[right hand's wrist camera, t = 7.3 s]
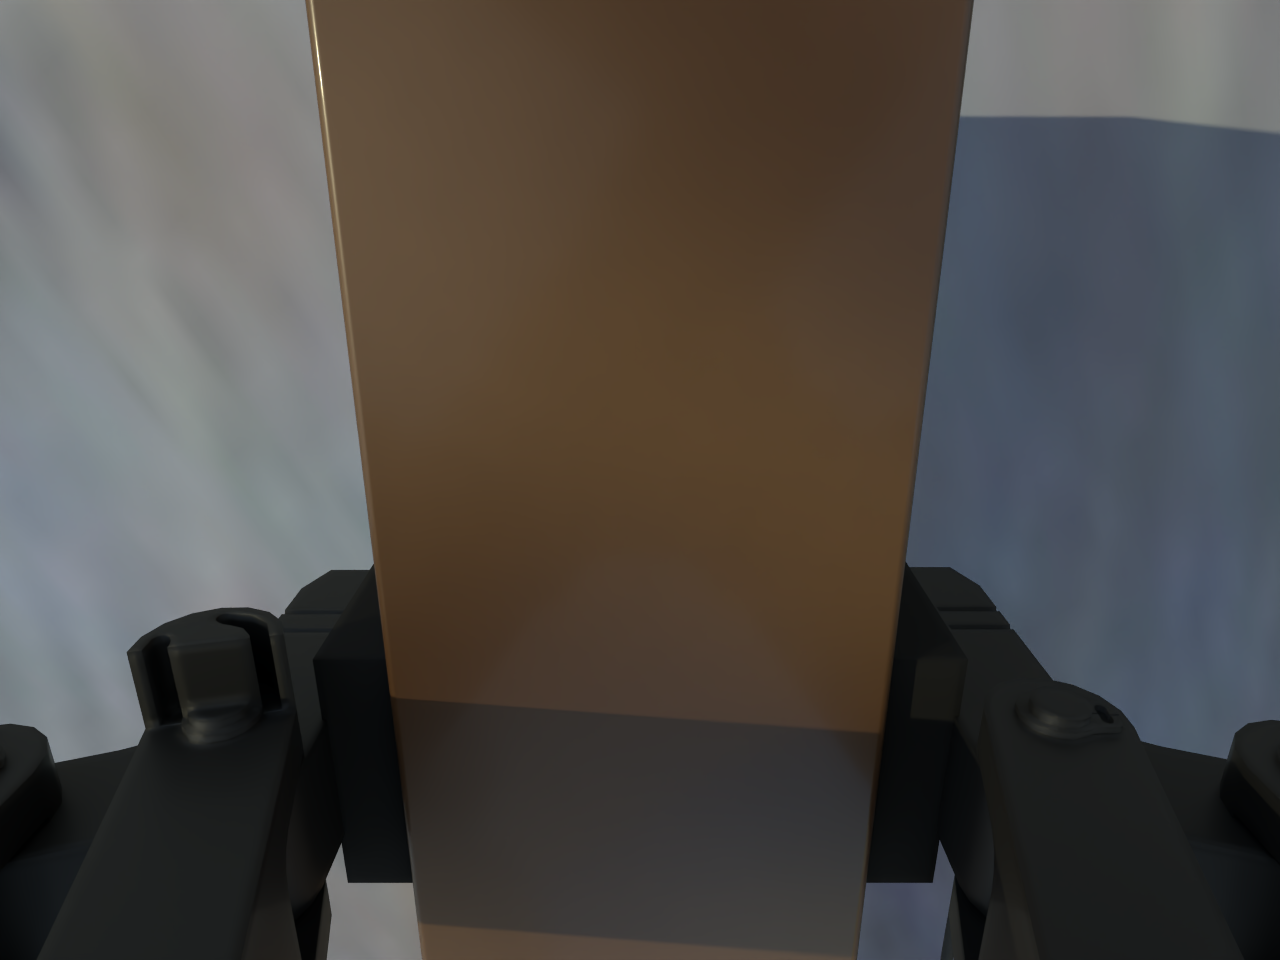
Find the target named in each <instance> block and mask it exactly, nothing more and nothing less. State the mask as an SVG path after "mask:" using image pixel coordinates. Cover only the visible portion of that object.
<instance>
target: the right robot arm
mask: <svg viewBox="0 0 1280 960" xmlns="http://www.w3.org/2000/svg"><path fill="white" fill-rule="evenodd" d="M127 656H128V660H129V664H130V668H131V672H132V676H133V680H134V684H135V688H136V692H137V696H138V700H139V704H140V708H141V712H142V716H143V720H144V724H145V728H146V729H145V731H144V733H143V736H142V738H141V740H140V742H139V744H138V746H134V747H130V748H127V749H123V750H119V751H114V752H109V753H103V754H98V755H93V756H88V757H83V758H78V759H73V760H68V761H63V762H58V763H54V759H53V756H52V753H51V749H50V746H49V743H48V739H47V737H46V736H45V735H43V734H42V733H41V732H40V731H38V730H37V729H36V728H34V727H29V726H22V725H16V724H4V725H0V960H326V959H327V951H328V942H329V933H330V924H331V916H332V914H331V908H330V901H329V895H328V889H327V883H326V877H327V875H328V873H329V870H330V868H331V866H332V863H333V861H334V859H335V856H336V854H337V852H338V849H339V847H340V845H341V843H342V848H343V854H344V861H345V867H346V873H347V879H348V883H413V880H412V872H411V864H410V855H409V847H408V839H407V831H406V823H405V814H404V806H403V798H402V790H401V781H400V773H399V765H398V757H397V749H396V740H395V732H394V724H393V716H392V708H391V699H390V691H389V683H388V675H387V667H386V658H385V650H384V642H383V634H382V626H381V617H380V609H379V601H378V593H377V585H376V576H375V568H374V564H373V566H372V567H371V569H370V570H331V571H329V572H327V573H326V574H324V575H323V576H321V577H319V578H318V579H316V580H315V581H313V582H311V583H310V584H308V585H306V586H305V587H303V588H302V589H301V590H300V591H299V593H298V594H297V595H296V597H295V598H294V599H293V600H292V602H291V603H290V604H289V606H288V607H287V608H286V610H285V614H282V615H281V616H280V617H279V619H278V618H277V617H275V616H274V615H273V614H271V613H270V612H267V611H262V610H258V609H253V608H248V607H247V608H219V609H214V610H208V611H203V612H198V613H192V614H190V615H187V616H184V617H181V618H178V619H176V620H173V621H170V622H167V623H164V624H163V625H161V626H159V627H157V628H156V629H154V630H152V631H151V632H149V633H147V634H145V635H144V636H142V637H141V638H140V639H139V640H138V641H137V642H136V643H135V644H134V645H133V646H132V647H131V648H130V649H129V650H128V651H127ZM939 840H940V841H941V844H942V846H943V848H944V850H945V853H946V855H947V857H948V860H949V862H950V864H951V867H952V869H953V871H954V874H955V877H954V883H953V889H952V895H951V901H950V907H949V912H948V918H947V924H946V930H945V936H944V942H943V947H942V953H941V960H953V957H954V960H1280V721H1276V720H1268V721H1261V722H1254V723H1248V724H1247V725H1245V726H1244V727H1243V728H1241V729H1240V730H1239V731H1237V732H1236V733H1235V735H1234V739H1233V742H1232V745H1231V749H1230V752H1229V755H1228V759H1222V758H1217V757H1212V756H1207V755H1202V754H1197V753H1191V752H1186V751H1181V750H1176V749H1171V748H1166V747H1161V746H1157V745H1154V744H1150V743H1146V742H1142V741H1141V740H1140V738H1139V736H1138V734H1137V732H1136V730H1135V728H1134V726H1133V725H1132V724H1131V723H1130V721H1129V720H1128V719H1127V718H1126V716H1125V715H1124V714H1123V713H1122V711H1121V710H1119V709H1118V708H1116V707H1115V706H1113V705H1112V704H1110V703H1109V702H1107V701H1106V700H1104V699H1103V698H1102V697H1100V696H1098V695H1096V694H1093V693H1091V692H1089V691H1086V690H1084V689H1081V688H1079V687H1077V686H1074V685H1071V684H1067V683H1062V682H1058V681H1053V680H1052V679H1051V677H1050V676H1049V675H1048V673H1047V672H1046V671H1045V670H1044V668H1043V667H1042V666H1041V664H1040V663H1039V662H1038V661H1037V659H1036V658H1035V657H1034V655H1033V654H1032V653H1031V651H1030V650H1029V649H1028V648H1027V646H1026V645H1025V644H1024V642H1023V641H1022V640H1021V639H1020V637H1019V636H1018V635H1017V633H1016V632H1015V631H1014V629H1010V624H1009V623H1008V622H1007V620H1006V619H1005V618H1004V617H1003V615H1002V614H1001V613H1000V611H996V606H995V605H994V604H993V602H992V601H991V600H990V598H989V597H988V596H987V595H986V593H985V592H984V591H983V589H982V588H981V587H980V586H979V585H978V584H976V583H974V582H973V581H971V580H970V579H968V578H966V577H965V576H963V575H962V574H960V573H958V572H957V571H955V570H953V569H952V568H950V567H909V566H908V565H907V563H906V561H905V569H904V577H903V585H902V594H901V602H900V610H899V618H898V626H897V635H896V643H895V651H894V659H893V667H892V676H891V684H890V692H889V700H888V708H887V716H886V725H885V733H884V741H883V749H882V757H881V766H880V774H879V782H878V790H877V798H876V807H875V815H874V823H873V831H872V839H871V847H870V856H869V864H868V872H867V880H866V883H933V877H934V871H935V865H936V859H937V852H938V846H939Z"/></svg>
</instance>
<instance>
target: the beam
mask: <svg viewBox="0 0 1280 960" xmlns="http://www.w3.org/2000/svg"><path fill="white" fill-rule="evenodd" d="M305 2H306V10H307V18H308V27H309V35H310V43H311V51H312V59H313V68H314V76H315V84H316V92H317V100H318V109H319V117H320V125H321V133H322V141H323V150H324V158H325V166H326V174H327V183H328V191H329V199H330V207H331V215H332V224H333V232H334V240H335V248H336V256H337V265H338V273H339V281H340V289H341V297H342V306H343V314H344V322H345V330H346V338H347V347H348V355H349V363H350V371H351V379H352V388H353V396H354V404H355V412H356V420H357V429H358V437H359V445H360V453H361V461H362V470H363V478H364V486H365V494H366V503H367V511H368V519H369V527H370V535H371V544H372V552H373V560H374V568H375V576H376V585H377V593H378V601H379V609H380V617H381V626H382V634H383V642H384V650H385V658H386V667H387V675H388V683H389V691H390V699H391V708H392V716H393V724H394V732H395V740H396V749H397V757H398V765H399V773H400V781H401V790H402V798H403V806H404V814H405V823H406V831H407V839H408V847H409V855H410V864H411V872H412V880H413V888H414V896H415V905H416V913H417V921H418V929H419V937H420V946H421V954H422V960H857V954H858V946H859V938H860V929H861V921H862V913H863V905H864V897H865V888H866V880H867V872H868V864H869V856H870V847H871V839H872V831H873V823H874V815H875V807H876V798H877V790H878V782H879V774H880V766H881V757H882V749H883V741H884V733H885V725H886V716H887V708H888V700H889V692H890V684H891V676H892V667H893V659H894V651H895V643H896V635H897V626H898V618H899V610H900V602H901V594H902V585H903V577H904V569H905V561H906V553H907V544H908V536H909V528H910V520H911V512H912V504H913V495H914V487H915V479H916V471H917V463H918V454H919V446H920V438H921V430H922V422H923V413H924V405H925V397H926V389H927V381H928V373H929V364H930V356H931V348H932V340H933V332H934V323H935V315H936V307H937V299H938V291H939V282H940V274H941V266H942V258H943V250H944V241H945V233H946V225H947V217H948V209H949V201H950V192H951V184H952V176H953V168H954V160H955V151H956V143H957V135H958V127H959V119H960V110H961V102H962V94H963V86H964V78H965V70H966V61H967V53H968V45H969V37H970V29H971V20H972V12H973V4H974V0H305Z"/></svg>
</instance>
